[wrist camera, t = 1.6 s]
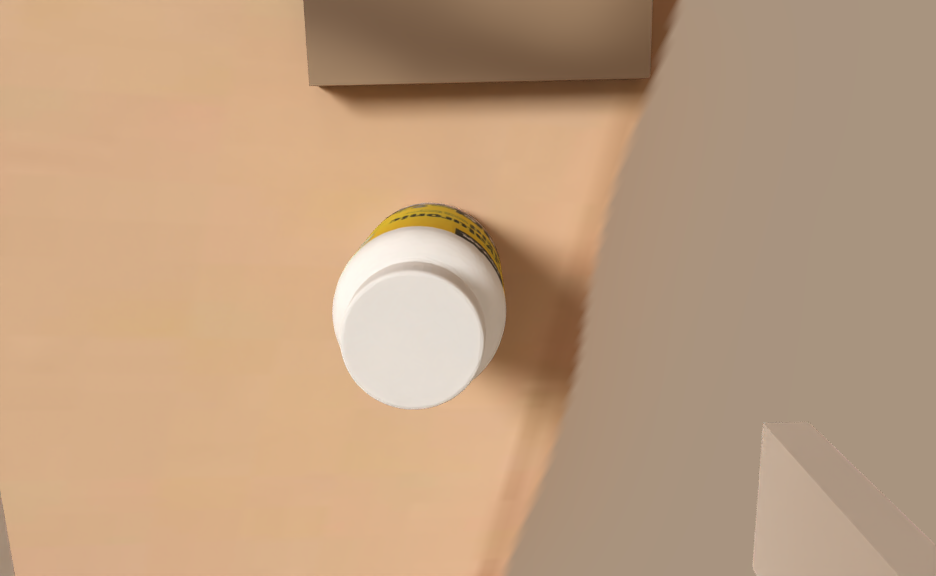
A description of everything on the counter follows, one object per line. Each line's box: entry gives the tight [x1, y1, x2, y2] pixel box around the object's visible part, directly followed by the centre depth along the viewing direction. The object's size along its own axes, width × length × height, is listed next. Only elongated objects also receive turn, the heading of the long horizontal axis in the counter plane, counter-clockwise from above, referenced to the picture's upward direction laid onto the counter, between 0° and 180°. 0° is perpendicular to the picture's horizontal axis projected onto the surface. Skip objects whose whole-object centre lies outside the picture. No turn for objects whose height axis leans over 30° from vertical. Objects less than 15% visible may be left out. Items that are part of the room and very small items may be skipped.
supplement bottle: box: [333, 203, 506, 409], centre depth 26 cm, size 5×5×10 cm
